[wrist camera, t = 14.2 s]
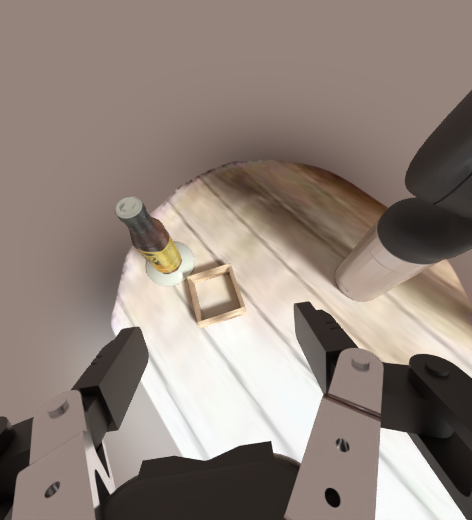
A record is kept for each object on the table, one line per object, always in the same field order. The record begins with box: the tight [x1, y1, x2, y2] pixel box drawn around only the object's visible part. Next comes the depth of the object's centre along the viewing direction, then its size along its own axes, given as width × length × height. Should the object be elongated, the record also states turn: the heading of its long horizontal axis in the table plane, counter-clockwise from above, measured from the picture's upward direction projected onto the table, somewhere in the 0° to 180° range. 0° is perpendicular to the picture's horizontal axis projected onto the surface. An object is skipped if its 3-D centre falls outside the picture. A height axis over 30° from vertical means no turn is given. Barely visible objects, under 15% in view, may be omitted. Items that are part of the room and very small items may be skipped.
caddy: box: [187, 263, 246, 329], centre depth 45 cm, size 9×10×3 cm
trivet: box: [146, 242, 195, 287], centre depth 50 cm, size 11×11×1 cm
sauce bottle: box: [115, 197, 182, 274], centre depth 41 cm, size 7×6×20 cm
